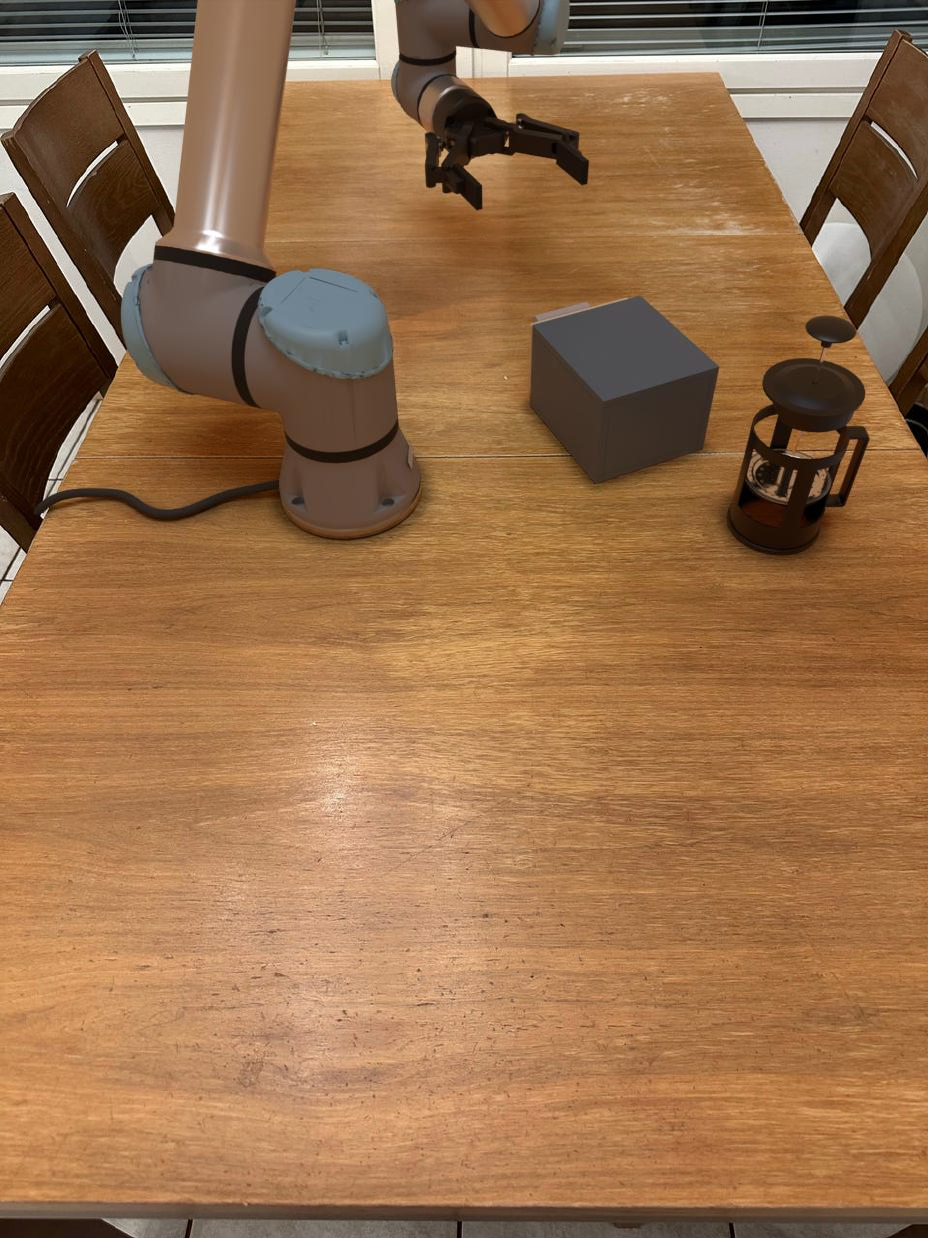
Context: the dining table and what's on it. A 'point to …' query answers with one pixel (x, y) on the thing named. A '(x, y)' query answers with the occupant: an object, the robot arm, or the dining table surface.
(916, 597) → the dining table surface
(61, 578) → the dining table surface
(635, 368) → the cabinet
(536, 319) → the drawer
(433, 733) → the dining table surface
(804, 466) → the french press
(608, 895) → the dining table surface
